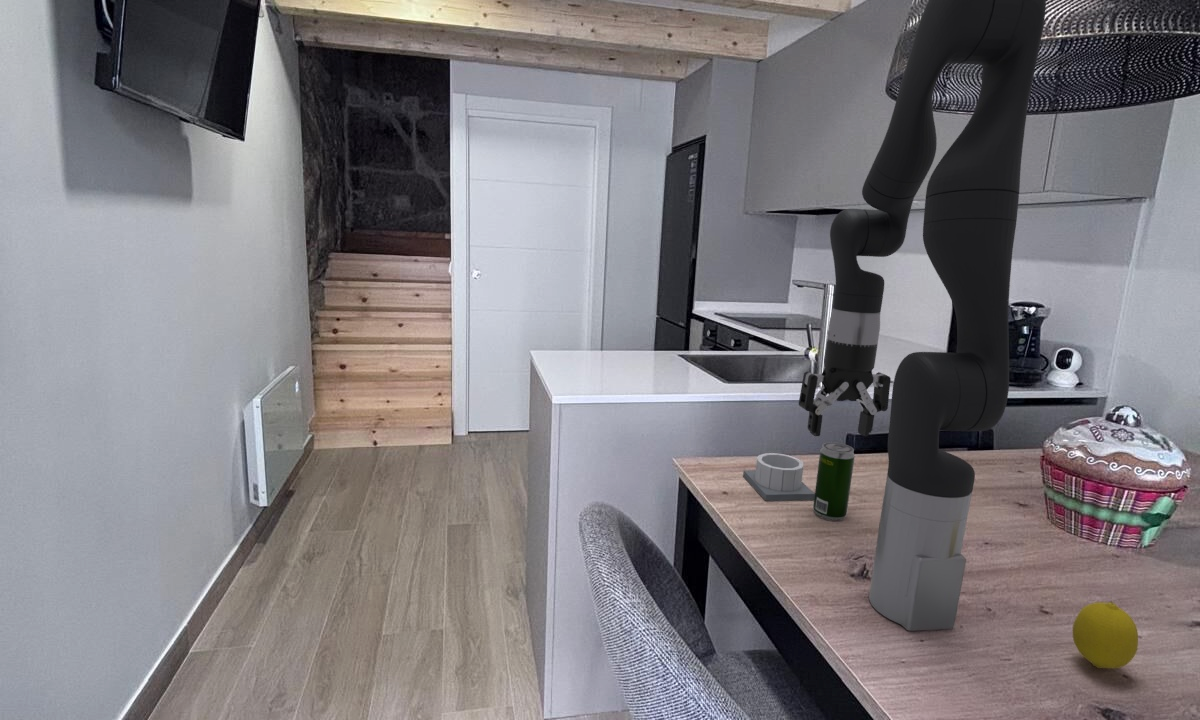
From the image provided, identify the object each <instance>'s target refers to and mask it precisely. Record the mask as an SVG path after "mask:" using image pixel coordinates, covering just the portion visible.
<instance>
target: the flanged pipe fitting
mask: <svg viewBox="0 0 1200 720" xmlns="http://www.w3.org/2000/svg"><path fill="white" fill-rule="evenodd" d="M755 462H756V464H755V469H752V470H751V469H749V470H746V469H744V470H743V472H742V473H743V474H742V476H743V478H744V479H745V480H746V481H747V482H748V484H750V486H751V487H752V488H753V489H754V490H755V491H756V492H757V494H759V496H760V497H761V498H762V499H763V500H764V501H765V502H782V501H784V502H785V501H786V502H787V501H790V502H791V501H814V497H815V491H813V490H812V489H811V488H809V487H808V485H806V484H805V483H804V482H803V476H804V466H805V465H804V464H805V463H804V462H803V461H802V460H800V459H799V458H797V457H794V456H791V455H788V454H783V453H777V452H774V453H773V452H771V453H770V452H768V453H762V454H758V456H757V458H756V461H755Z"/></svg>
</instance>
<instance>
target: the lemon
mask: <svg viewBox="0 0 1200 720" xmlns="http://www.w3.org/2000/svg"><path fill="white" fill-rule="evenodd" d="M1072 625H1073V626H1072V638H1073V643H1074V645H1075V647H1076V649H1077V651H1078V652H1079V654H1081V656H1082V657H1083V658H1085V659H1086V660H1087V661H1088V662H1090V663H1091V665H1093V667H1094V666H1096V667H1098V668H1097V669H1103V668H1104V669H1119V668H1122V667H1125V666H1127V665H1128V664H1129V663H1130V662H1131V661H1132V660H1133V659H1134V657H1135V655H1137V651H1138V647H1139V632H1138V628H1137V625H1136V623H1135V621H1134V620H1133V618H1132V617H1131V616H1130V615H1129V613H1127V612H1126V611H1125V610H1123V609H1122V608H1120V607H1119V606H1118V605H1117V604H1116V603H1114V602H1101V601H1100V602H1092V603H1089V604H1088V605H1087V604H1086V605H1085V606H1084V607H1083V608H1081V610H1080V611H1079V613H1078V614H1077V616H1076V618H1075V619H1074V622H1073V624H1072ZM1096 667H1095V668H1096Z"/></svg>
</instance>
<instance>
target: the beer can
mask: <svg viewBox="0 0 1200 720" xmlns="http://www.w3.org/2000/svg"><path fill="white" fill-rule="evenodd" d="M854 451H855V450H854V448H853V447H852V446H850V445H847V444H845V443H841V442H835V441H834V442H833V441H832V442H831V441H829V442H824V443H823V444H822V445H821V448H820V449H819V457H818V458H819V460H818V466H817V474H816V481H815V489H814V490H815V491H814V493H815V497H814V500H813V506H812V509H813V512H814V514H815V515H816V516H817V517H819V518H821V519H823V520H827V521H833V522H839V521H842V520H844V519H845V517H846V516H847V514H848V507H849V501H850V493H851V484H852V478H853V477H852V476H853V472H854V465H855V463H854V462H855V457H856V456H855V453H854Z"/></svg>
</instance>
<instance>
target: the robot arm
mask: <svg viewBox="0 0 1200 720" xmlns="http://www.w3.org/2000/svg"><path fill="white" fill-rule="evenodd" d="M1046 6H1047V0H928V1H927V3H926V5H925V7H924V10H923V13H922V15H921V18H920V21H919V24H918V26H917V29H916V33H915V36H914V39H913V42H912V46H911V48H910V49H911V50H910V52H909V56H908V59H907V63H906V66H905V70H904V72H903V76H902V79H901V82H900V86H899V90H898V94H897V97H896V101H895V103H894V108H893V111H892V115H891V119H890V122H889V125H888V128H887V130H886V134H885V136H884V139H883V141H882V143H881V145H880V148H879V150H878V152H877V154H876V156H875V158H874V161H873V163H872V165H871V167H870V169H869V171H868V173H867V176H866V178H865V180H864V181H863V182H864V183H863V186H862V188H861V195H862V198H863V200H864V201H865V202H866V204H867V205H868V206H870V207H872V208H874V209H867V208H846V209H843V210H841V211H840V212H839V213H837V215H836V216H835V217H834V219H833V221H832V223H831V225H830V229H829V230H830V231H829V238H830V240H829V241H830V246H831V252H832V256H833V257H832V258H833V265H834V276H835V288H834V297H833V304H832V310H831V314H830V318H829V321H828V329H827V333H826V334H827V336H826V337H827V338H826V344H825V350H824V351H825V352H824V360H823V363H824V369H823V371H822V372H821V374H819V373H812V372H811V371H805V372H804V373H803V377H802V378H803V379H802V382H801V383H802V384H801V388H800V394H799V400H798V406H799V407H801V408H802V410H805V411H806V412H808V419H807V421H808V422H807V430H808V431H809V433H810V434H811V435H813V436H814V437H820V436H821V432H822V431H821V429H822V422H823V417H824V416H823V414H822V413H824V411H825V410H826V409H827V408H828V407H829V406H832V405H833V403H835V401H837V402H845V401H850V402H856V401H857V402H858V404H859V406H860V408H861V409H862V410H861V411H860V414H859V419H858V426H857V432H858V434H859V435H860V436H862V437H869V435H870V433H872V431H873V427H874V426H873V425H874V421H875V415H876V414H877V413H879V412H881V411H882V412H886V411H888V408H889V402H890V401H889V400H890V399H889V398H890V388H891V377H890V376H888V375H887V374H886V373H885V374H884V373H882V372H876V374H873V370H874V368H875V365H876V359H877V358H876V357H877V350H878V343H879V338H880V337H879V336H880V330H881V312H882V311H881V310H882V304H883V297H884V292H885V279H884V277H883V276H882V275H880V274H878V273H875V272H871V271H868V270H864V269H861V267H860V264H859V262H858V260H857V259H858V258H857V257H873V258H875V257H876V258H880V257H881V258H885V257H889V256H891V255H893V254H895V253H896V252H898V251H899V250H900V248H901V247H902V246H903V244H904V242H905V239H906V235H907V229H908V228H907V227H908V221H909V217H910V213H911V210H912V206H913V202H914V199H915V197H916V195H917V194H918V191H919V190H920V188H921V186H922V184H923V182H924V181H925V179H926V177H927V176H928V173H929V172H930V169H931V167H932V165H933V162H934V160H935V157H936V153H937V144H938V143H937V131H936V125H935V117H934V110H933V96H934V95H933V94H934V89H935V87H936V84H937V81H938V79H939V77H940V75H941V73H942V71H943V70H944V68H945V67H946V66H947V64H953V65H954V64H955V65H958V64H960V65H978V66H979V65H981V66H982V76H981V77H982V78H981V85H980V91H979V94H978V95H979V96H978V100H977V104H976V106H975V109H974V111H973V113H972V114H971V117H970V119H969V121H968V123H967V124H966V126H965V127H964V128H963V130H962V131H961V133H959V135H958V136H957V137H956V139H955V141H953V142H952V144H951V145H950V147H949V148H948V150H947V151H946V152H945V153H944V154H943V156H942V158H941V159H940V160H939V162H938V164H937V165H935V168H934V170H933V171H932V173H931V175H930V177H929V180H928V182H927V187H926V190H925V191H926V192H925V201H924V212H923V213H924V215H923V223H922V224H923V226H922V227H923V228H922V241H923V244H924V248H925V251H926V254H927V257H928V258H929V260H930V263H931V264H932V267H933V268H934V270H935V273H936V274H937V276H938V278H939V279H940V281H941V282H942V284H943V286H944V288H945V289H946V291H947V294H948V296H949V299H950V300H951V303H952V306H953V309H954V312H955V317H956V326H957V328H956V330H957V331H956V332H957V341H956V343H957V344H956V351H955V352H942V351H940V352H938V351H915V352H911V353H909V354H907V355H906V356H905V357H904V358H903V359H902V360H901V361H900V363H899V365H898V367H897V369H896V372H895V375H894V380H893V384H892V390H891V391H892V394H891V403H890V404H891V405H890V416H889V424H888V425H889V427H888V435H887V455H888V456H887V457H888V467H887V473H886V474H887V475H886V481H885V486H884V487H885V488H884V492H883V493H884V495H883V498H882V499H883V501H882V506H881V512H880V518H879V519H880V520H879V524H878V525H879V527H878V533H877V538H876V539H877V540H876V546H875V553H874V558H873V565H872V575H871V581H870V589H869V594H868V598H869V599H868V600H869V602H870V604H871V606H872V607H873V609H875V610H876V612H878V613H879V614H881V615H882V616H883V617H885V618H887V619H888V620H891V622H892V621H893V622H894V623H897V624H899V625H901V626H902V627H903V628H904V629H906V630H907V631H909V632H913V631H914V632H915V631H931V630H932V631H934V630H953V629H954V628H955V624H956V618H957V612H958V607H959V602H960V597H961V591H962V586H963V580H964V576H965V568H966V564H967V558H966V556H964V555H962V551H963V550H962V549H963V544H964V537H965V533H966V525H967V521H968V515H969V510H970V506H971V500H972V495H973V489H974V485H975V484H974V483H975V477H976V472H975V470H974V468H973V466H972V465H971V464H970V462H969V463H968V462H967V461H966V460H964V459H963V458H961V457H960V456H957V455H954V454H953V453H952V454H951V453H950V452H948V451H944V450H941V449H940V446H939V443H940V431H943V432H944V431H947V432H983V431H985V432H986V431H988V430H991V429H993V428H994V427H995V426H997V424H998V423H999V422H1000V421H1001V419H1002V417H1003V415H1004V413H1005V410H1006V407H1007V403H1008V396H1009V389H1010V388H1009V386H1010V341H1009V339H1010V336H1009V333H1010V332H1009V330H1010V329H1009V305H1010V304H1009V302H1010V287H1011V285H1010V284H1011V273H1012V263H1013V262H1012V261H1013V260H1012V259H1013V252H1014V251H1013V248H1014V244H1015V243H1014V242H1015V235H1016V227H1017V222H1018V220H1017V219H1018V211H1019V210H1018V209H1019V200H1020V199H1019V198H1020V195H1019V194H1020V187H1021V186H1020V185H1021V170H1022V169H1021V168H1022V159H1023V158H1022V155H1023V146H1024V140H1025V137H1024V136H1025V128H1026V122H1027V115H1028V108H1029V102H1030V96H1031V91H1032V86H1033V80H1034V75H1035V70H1036V65H1037V61H1038V56H1039V52H1040V51H1039V50H1040V46H1041V41H1042V34H1043V31H1044V30H1043V29H1044V25H1045V18H1046ZM820 383H822V387H821V389H819V391H818V392H817V391H816V390H817V388H818V387H819V386H820ZM872 385H873V394H872V396H873V398H872V397H871V395H870V394H869V391H868V389H869V387H871V386H872ZM816 392H817V393H816Z"/></svg>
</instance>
